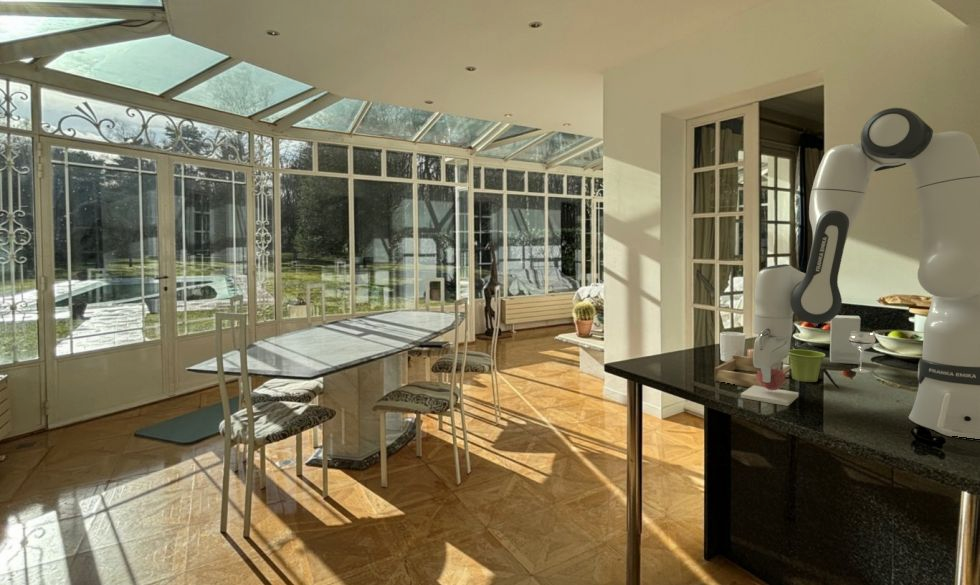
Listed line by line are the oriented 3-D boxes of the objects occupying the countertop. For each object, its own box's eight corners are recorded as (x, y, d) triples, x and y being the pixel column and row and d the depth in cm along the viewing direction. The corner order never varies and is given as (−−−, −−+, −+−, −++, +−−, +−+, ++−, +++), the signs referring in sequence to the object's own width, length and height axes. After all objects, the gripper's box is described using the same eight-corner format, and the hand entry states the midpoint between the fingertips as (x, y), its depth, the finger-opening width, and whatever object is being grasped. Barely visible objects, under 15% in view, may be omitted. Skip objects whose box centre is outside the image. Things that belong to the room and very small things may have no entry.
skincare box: (858, 361, 175) (860, 315, 173) (859, 365, 169) (862, 318, 168) (828, 358, 179) (830, 314, 178) (829, 362, 174) (831, 316, 172)
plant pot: (817, 378, 153) (818, 350, 152) (828, 387, 144) (830, 356, 143) (782, 377, 156) (783, 348, 155) (791, 385, 147) (792, 355, 146)
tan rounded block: (764, 365, 167) (765, 349, 166) (758, 367, 164) (758, 352, 164) (750, 362, 170) (751, 347, 170) (744, 365, 168) (744, 349, 167)
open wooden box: (782, 377, 155) (783, 361, 154) (766, 389, 142) (766, 372, 142) (733, 370, 164) (733, 355, 164) (714, 381, 152) (714, 364, 151)
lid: (795, 367, 167) (796, 364, 167) (782, 377, 155) (783, 373, 155) (749, 361, 176) (749, 358, 176) (733, 370, 164) (733, 366, 164)
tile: (798, 396, 136) (798, 392, 136) (787, 406, 128) (787, 402, 128) (753, 388, 144) (753, 385, 143) (740, 397, 135) (740, 393, 135)
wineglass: (879, 373, 159) (881, 334, 158) (857, 373, 159) (859, 334, 158) (863, 368, 166) (865, 331, 164) (842, 368, 166) (844, 331, 164)
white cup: (747, 365, 170) (748, 336, 169) (721, 365, 172) (722, 335, 171) (740, 360, 178) (741, 332, 177) (716, 359, 180) (717, 331, 179)
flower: (780, 373, 130) (778, 357, 133) (748, 381, 135) (748, 366, 139) (795, 393, 132) (793, 376, 136) (763, 400, 137) (762, 384, 141)
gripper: (775, 333, 124) (773, 389, 126) (795, 323, 139) (793, 373, 141) (747, 331, 129) (745, 385, 130) (770, 321, 144) (768, 370, 145)
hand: (770, 379), depth 135 cm, fingers closed on flower, 5 cm apart
